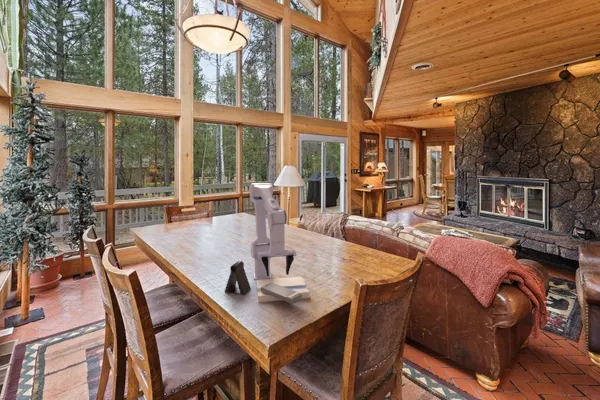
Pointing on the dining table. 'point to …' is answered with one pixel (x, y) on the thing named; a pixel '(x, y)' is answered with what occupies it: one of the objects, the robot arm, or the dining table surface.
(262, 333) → the dining table surface
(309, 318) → the dining table surface
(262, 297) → the duct deck
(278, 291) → the cover
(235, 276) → the black folding stand
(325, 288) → the dining table surface
